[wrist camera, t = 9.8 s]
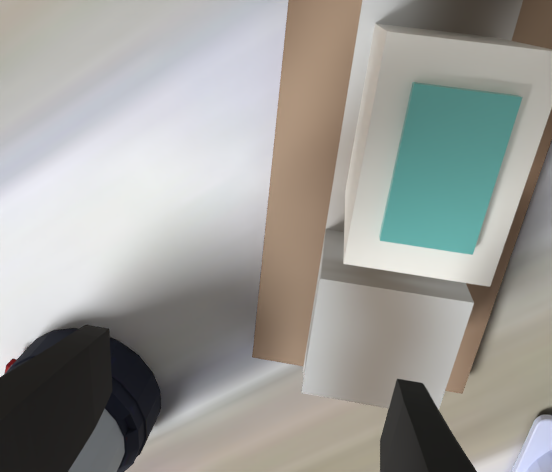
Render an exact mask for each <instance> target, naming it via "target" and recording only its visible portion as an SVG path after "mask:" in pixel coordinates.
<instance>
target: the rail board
mask: <svg viewBox="0 0 552 472" xmlns="http://www.w3.org/2000/svg"><path fill="white" fill-rule="evenodd" d="M375 23H376V24H385V25H393V26H402V27H410V28H419V29H427V30H436V31H444V32H452V33H461V34H469V35H478V36H486V37H495V38H500V39H505V40H510V41H515V42H519V43H524V44H529V45H533V46H538V47H543V48H547V49H552V0H289V2H288V12H287V22H286V31H285V41H284V51H283V61H282V71H281V80H280V90H279V100H278V110H277V120H276V129H275V139H274V149H273V159H272V168H271V178H270V188H269V198H268V208H267V217H266V227H265V237H264V247H263V257H262V266H261V276H260V286H259V296H258V306H257V315H256V325H255V335H254V345H253V354H252V357H253V358H259V359H265V360H271V361H277V362H282V363H288V364H294V365H300V366H303V373H304V377H303V385H302V393H304V394H310V395H316V396H321V397H327V398H332V399H338V400H344V401H349V402H355V403H361V404H366V405H372V406H378V407H383V408H389V406H390V402H391V399H392V395H393V391H394V388H395V384H396V380H397V379H403V380H408V381H414V382H420V383H423V384H424V385H425V387H426V388H427V390H428V392H429V394H430V396H431V397H432V399H433V401H434V403H435V405H436V406H437V408H438V410H439V408H440V405H441V402H442V399H443V396H444V393H445V391H450V392H456V393H463V390H464V388H465V385H466V382H467V379H468V376H469V373H470V371H471V368H472V365H473V362H474V359H475V356H476V354H477V351H478V348H479V345H480V342H481V339H482V337H483V334H484V331H485V328H486V325H487V322H488V319H489V317H490V314H491V311H492V308H493V305H494V302H495V300H496V297H497V294H498V291H499V288H500V285H501V283H502V280H503V277H504V274H505V271H506V268H507V266H508V263H509V260H510V257H511V254H512V251H513V248H514V246H515V243H516V240H517V237H518V234H519V231H520V229H521V226H522V223H523V220H524V217H525V214H526V212H527V209H528V206H529V203H530V200H531V197H532V195H533V192H534V189H535V186H536V183H537V180H538V177H539V175H540V172H541V169H542V166H543V163H544V160H545V158H546V155H547V152H548V149H549V146H550V143H551V141H552V108H551V111H550V114H549V117H548V120H547V123H546V126H545V129H544V132H543V135H542V137H541V140H540V143H539V146H538V149H537V152H536V155H535V158H534V161H533V164H532V166H531V169H530V172H529V175H528V178H527V181H526V184H525V187H524V190H523V193H522V195H521V198H520V201H519V204H518V207H517V210H516V213H515V216H514V219H513V222H512V225H511V227H510V230H509V233H508V236H507V239H506V242H505V245H504V248H503V251H502V254H501V256H500V259H499V262H498V265H497V268H496V271H495V274H494V277H493V280H492V283H491V285H490V287H488V286H482V285H475V284H469V283H463V282H456V281H450V280H444V279H437V278H431V277H425V276H418V275H412V274H405V273H399V272H393V271H386V270H380V269H374V268H367V267H361V266H355V265H348V264H343V258H344V222H345V190H346V184H347V179H348V173H349V167H350V162H351V156H352V150H353V145H354V139H355V133H356V128H357V122H358V116H359V111H360V105H361V99H362V94H363V88H364V82H365V77H366V71H367V65H368V60H369V54H370V48H371V43H372V37H373V31H374V26H375Z"/></svg>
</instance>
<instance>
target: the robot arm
mask: <svg viewBox="0 0 552 472" xmlns="http://www.w3.org/2000/svg"><path fill="white" fill-rule="evenodd" d="M111 393H112V373H111V355H110V338H109V329H107V328H101V327H95V326H89V325H85V326H83V327H82V328H80V329H78V330H77V331H75V332H73V333H72V334H70V335H68V336H67V337H65V338H64V339H62V340H60V341H59V342H57V343H56V344H54V345H53V346H51V347H49V348H48V349H46V350H45V351H43V352H41V353H40V354H38V355H36V356H35V357H33V358H32V359H30V360H28V361H27V362H25V363H23V364H22V365H20V366H18V367H17V368H15V369H14V370H12V371H10V372H8V373H7V374H5V375H3V376H1V377H0V472H68V471H69V469H70V468H71V466H72V465H73V463H74V462H75V460H76V458H77V457H78V455H79V454H80V452H81V450H82V449H83V447H84V446H85V444H86V442H87V441H88V439H89V438H90V436H91V434H92V433H93V431H94V429H95V428H96V425H97V423H98V421H99V419H100V417H101V415H102V413H103V411H104V409H105V407H106V404H107V402H108V400H109V398H110V395H111ZM380 472H477V471H476V470H475V468H474V467H473V465H472V464H471V462H470V460H469V459H468V457H467V456H466V454H465V453H464V451H463V450H462V448H461V446H460V445H459V443H458V442H457V440H456V439H455V437H454V435H453V434H452V432H451V430H450V429H449V427H448V425H447V424H446V422H445V420H444V419H443V417H442V415H441V413H440V412H439V410H438V408H437V406H436V405H435V403H434V401H433V399H432V397H431V396H430V394H429V392H428V390H427V388H426V387H425V385H424V384H423V383H420V382H414V381H408V380H403V379H397V380H396V384H395V388H394V391H393V395H392V399H391V402H390V406H389V410H388V413H387V417H386V421H385V425H384V428H383V432H382V436H381V439H380ZM511 472H552V415H540V416H538V417H537V418H536V419H535V420H534V422H533V425H532V427H531V429H530V431H529V433H528V436H527V438H526V440H525V442H524V445H523V447H522V449H521V451H520V453H519V456H518V458H517V460H516V462H515V465H514V467H513V469H512V471H511Z"/></svg>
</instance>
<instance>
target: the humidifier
mask: <svg viewBox="0 0 552 472" xmlns="http://www.w3.org/2000/svg"><path fill="white" fill-rule="evenodd" d="M77 330H78V329H76V328H71V329H63V330H55V331H51V332H49V333H47V334H45V335H43V336H41V337H39V338H38V339H36V340H35V341H34V342H33V343H32V344H31V345H30V346H29V347H28V348H27V349H26V350H25V352H24V353H23V354H22V355H21V356H20V357H19V358H18V359H17V360H16V359H12V360H11V361H10V362H9V363H8V364H7V365H6V369H5V374H7V373H8V372H10V371H12V370H14V369H15V368H17V367H18V366H20V365H22V364H23V363H25V362H27V361H28V360H30V359H32V358H33V357H35V356H36V355H38V354H40V353H41V352H43V351H45V350H46V349H48V348H49V347H51V346H53V345H54V344H56V343H57V342H59V341H60V340H62V339H64V338H65V337H67V336H68V335H70V334H72V333H73V332H75V331H77ZM109 338H110V337H109ZM110 355H111V373H112V393H111V395H110V398H109V400H108V402H107V404H106V407H105V409H104V411H103V413H102V415H101V417H100V419H99V421H98V423H97V425H96V428H95V429H94V431H93V433H92V434H91V436H90V438H89V439H88V441H87V442H86V444H85V446H84V447H83V449H82V450H81V452H80V454H79V455H78V457H77V458H76V460H75V462H74V463H73V465H72V466H71V468H70V469H69V471H68V472H124V471H126V470H127V469H128V468H129V467H130V466H131V465H132V464H133V463H134V461H135V459H136V457H137V456H138V455H140V453H141V451H142V449H143V447H144V445H145V443H146V441H147V438H148V436H149V434H150V432H151V430H152V428H153V426H154V424H155V421H156V419H157V416H158V414H159V412H160V409H161V395H160V389H159V387H158V384H157V382H156V379H155V377H154V374H153V373H152V371H151V370H150V369H149V368H148V366H147V365H146V364H145V363H144V361H143V360H142V359H141V358H140V357H139V355H137V354H136V353H134V352H133V351H132V350H130V349H129V348H128V347H126V346H125V345H124V344H122V343H121V342H120V341H117V340H115V339H113V338H110ZM5 374H4V375H5Z"/></svg>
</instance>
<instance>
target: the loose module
mask: <svg viewBox="0 0 552 472" xmlns="http://www.w3.org/2000/svg"><path fill="white" fill-rule="evenodd" d="M551 108H552V49H547V48H543V47H538V46H533V45H529V44H524V43H519V42H515V41H510V40H505V39H500V38H495V37H486V36H478V35H469V34H461V33H452V32H444V31H436V30H427V29H419V28H410V27H402V26H393V25H385V24H376V23H375V26H374V31H373V37H372V43H371V48H370V54H369V60H368V65H367V71H366V77H365V82H364V88H363V94H362V99H361V105H360V111H359V116H358V122H357V128H356V133H355V139H354V145H353V150H352V156H351V162H350V167H349V173H348V179H347V184H346V190H345V222H344V258H343V264H348V265H355V266H361V267H367V268H374V269H380V270H386V271H393V272H399V273H405V274H412V275H418V276H425V277H431V278H437V279H444V280H450V281H456V282H463V283H469V284H475V285H482V286H488V287H490V285H491V283H492V280H493V277H494V274H495V271H496V268H497V265H498V262H499V259H500V256H501V254H502V251H503V248H504V245H505V242H506V239H507V236H508V233H509V230H510V227H511V225H512V222H513V219H514V216H515V213H516V210H517V207H518V204H519V201H520V198H521V195H522V193H523V190H524V187H525V184H526V181H527V178H528V175H529V172H530V169H531V166H532V164H533V161H534V158H535V155H536V152H537V149H538V146H539V143H540V140H541V137H542V135H543V132H544V129H545V126H546V123H547V120H548V117H549V114H550V111H551Z"/></svg>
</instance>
